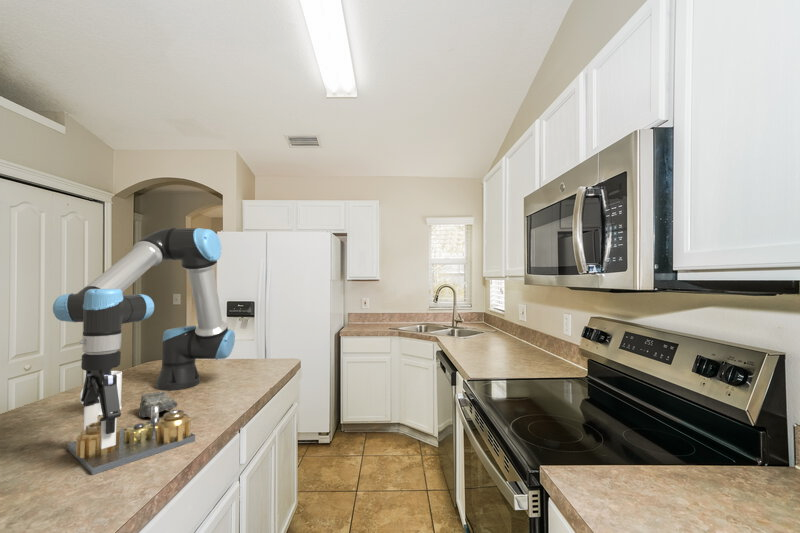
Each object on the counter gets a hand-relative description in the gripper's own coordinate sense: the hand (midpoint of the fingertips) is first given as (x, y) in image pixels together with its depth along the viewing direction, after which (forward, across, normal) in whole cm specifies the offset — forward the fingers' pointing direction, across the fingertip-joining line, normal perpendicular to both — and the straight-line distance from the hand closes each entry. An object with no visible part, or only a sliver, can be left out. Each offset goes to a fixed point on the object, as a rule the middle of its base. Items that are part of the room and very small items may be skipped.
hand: (98, 438), depth 92 cm
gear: (+3, 0, 0) cm, 3 cm away
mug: (+4, -35, +10) cm, 37 cm away
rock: (+5, -20, +20) cm, 28 cm away
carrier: (+4, 0, +8) cm, 9 cm away
